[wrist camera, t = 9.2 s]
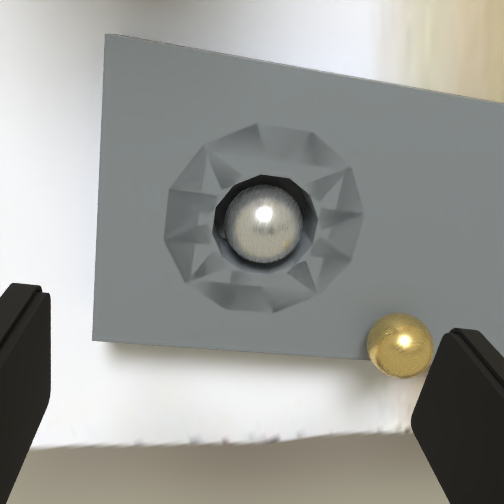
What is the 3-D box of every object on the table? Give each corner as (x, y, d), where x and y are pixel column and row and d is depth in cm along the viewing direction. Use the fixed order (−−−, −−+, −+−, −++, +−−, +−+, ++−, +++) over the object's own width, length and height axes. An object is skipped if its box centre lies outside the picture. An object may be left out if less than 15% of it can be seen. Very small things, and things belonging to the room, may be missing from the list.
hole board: (656, 130, 24) (704, 140, 21) (549, 348, 29) (580, 374, 26) (115, 34, 19) (105, 33, 17) (101, 312, 24) (92, 340, 22)
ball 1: (307, 200, 19) (223, 180, 20) (287, 281, 20) (208, 260, 21) (313, 190, 22) (242, 173, 23) (296, 260, 23) (228, 242, 24)
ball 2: (425, 303, 23) (455, 339, 21) (407, 354, 24) (434, 394, 22) (367, 298, 23) (391, 333, 20) (351, 350, 24) (372, 390, 21)
